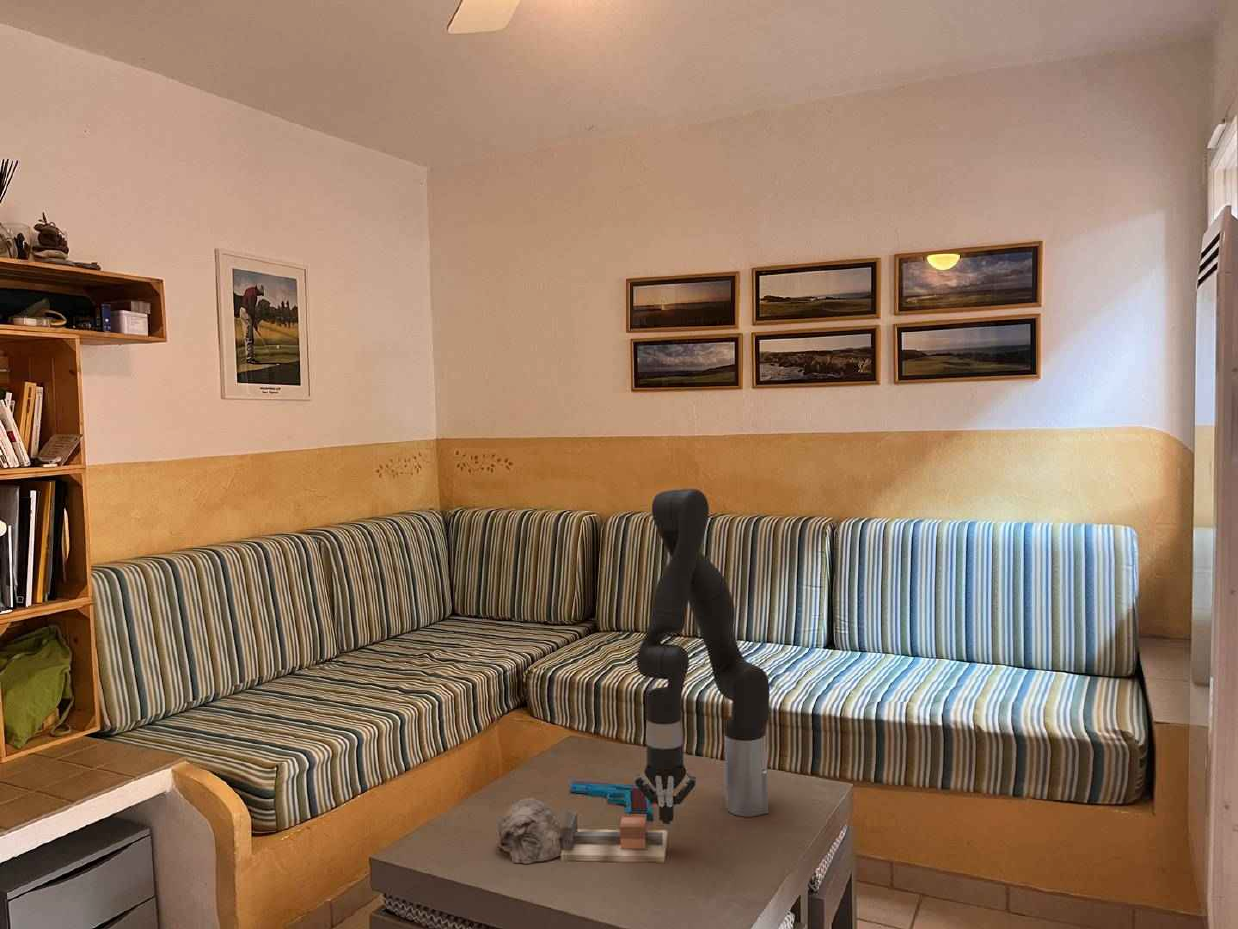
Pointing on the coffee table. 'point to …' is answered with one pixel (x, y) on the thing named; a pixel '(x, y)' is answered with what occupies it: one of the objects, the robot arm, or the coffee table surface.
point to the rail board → (608, 844)
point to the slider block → (633, 831)
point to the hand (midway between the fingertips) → (666, 822)
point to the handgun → (617, 795)
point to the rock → (530, 832)
